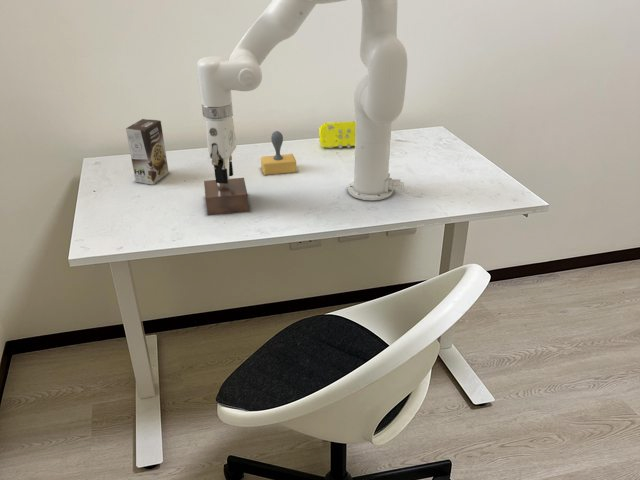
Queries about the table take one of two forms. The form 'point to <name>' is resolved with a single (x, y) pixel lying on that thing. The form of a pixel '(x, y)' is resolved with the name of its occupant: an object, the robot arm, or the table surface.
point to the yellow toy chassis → (337, 134)
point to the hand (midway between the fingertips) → (224, 178)
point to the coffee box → (147, 151)
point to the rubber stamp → (278, 159)
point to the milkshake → (227, 172)
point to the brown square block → (226, 197)
